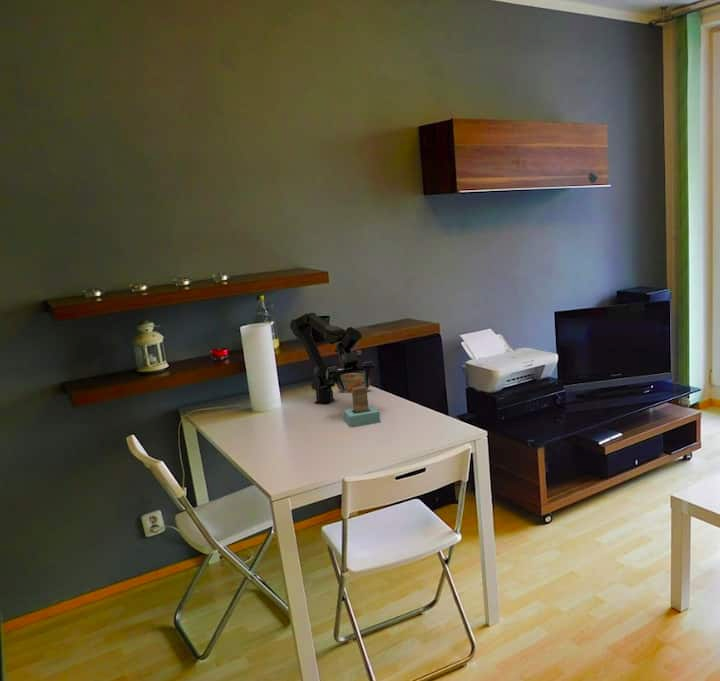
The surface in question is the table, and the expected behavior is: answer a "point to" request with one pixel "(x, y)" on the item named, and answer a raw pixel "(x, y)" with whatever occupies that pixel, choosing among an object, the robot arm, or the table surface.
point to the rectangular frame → (361, 417)
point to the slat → (360, 399)
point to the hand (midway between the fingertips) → (355, 389)
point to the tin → (352, 381)
